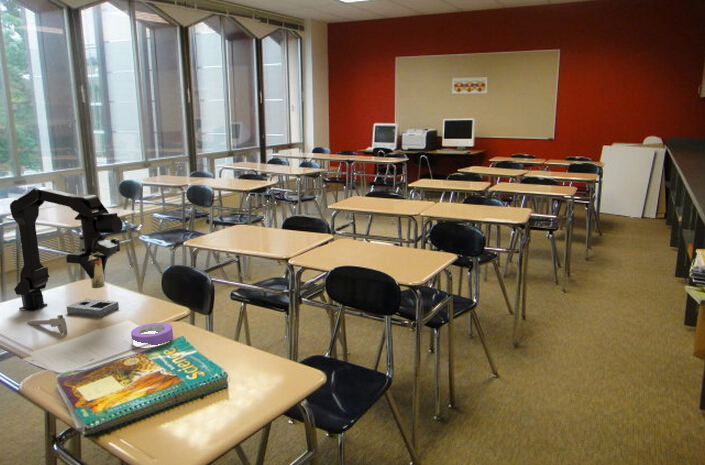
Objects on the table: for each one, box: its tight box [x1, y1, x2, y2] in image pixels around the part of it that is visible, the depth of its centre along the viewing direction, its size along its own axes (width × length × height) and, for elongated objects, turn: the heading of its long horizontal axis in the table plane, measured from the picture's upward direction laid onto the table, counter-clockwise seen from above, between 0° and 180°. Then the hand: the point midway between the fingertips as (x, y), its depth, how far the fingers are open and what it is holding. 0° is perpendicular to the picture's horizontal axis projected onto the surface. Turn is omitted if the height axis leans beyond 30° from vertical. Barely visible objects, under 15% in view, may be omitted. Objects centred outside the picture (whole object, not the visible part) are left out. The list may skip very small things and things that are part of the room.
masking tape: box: [130, 322, 174, 345], centre depth 161 cm, size 12×12×4 cm
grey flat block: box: [66, 298, 120, 318], centre depth 187 cm, size 14×9×2 cm, turn 72°
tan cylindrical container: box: [90, 256, 105, 289], centre depth 184 cm, size 4×4×10 cm
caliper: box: [27, 314, 68, 335], centre depth 172 cm, size 20×1×6 cm, turn 60°
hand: (96, 276), depth 184 cm, fingers closed on tan cylindrical container, 4 cm apart
